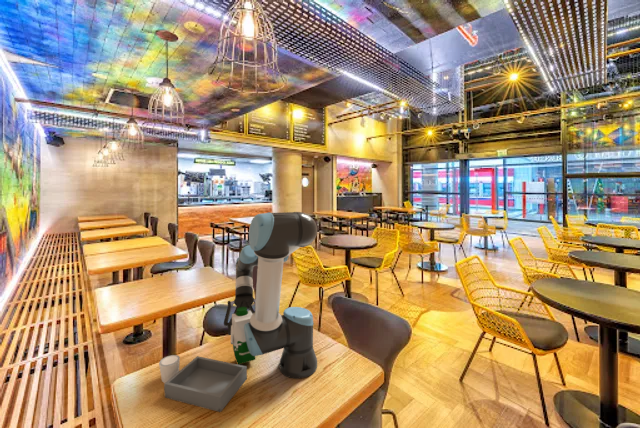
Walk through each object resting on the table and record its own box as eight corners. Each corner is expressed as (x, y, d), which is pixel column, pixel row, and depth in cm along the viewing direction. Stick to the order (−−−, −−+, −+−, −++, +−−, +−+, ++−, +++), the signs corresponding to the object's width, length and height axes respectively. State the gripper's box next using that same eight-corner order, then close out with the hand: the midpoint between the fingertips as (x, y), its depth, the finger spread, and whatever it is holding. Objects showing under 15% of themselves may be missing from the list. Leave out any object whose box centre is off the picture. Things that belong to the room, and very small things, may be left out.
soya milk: (252, 349, 118) (251, 304, 116) (258, 360, 110) (256, 313, 108) (231, 354, 114) (229, 308, 112) (235, 367, 106) (233, 318, 104)
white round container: (157, 385, 99) (156, 367, 98) (162, 373, 105) (161, 356, 105) (178, 382, 101) (177, 364, 100) (182, 370, 107) (181, 353, 107)
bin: (246, 378, 103) (246, 366, 102) (220, 412, 87) (220, 397, 87) (197, 368, 109) (197, 356, 108) (164, 397, 93) (164, 383, 93)
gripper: (268, 290, 128) (270, 341, 114) (219, 294, 123) (216, 348, 109) (268, 282, 122) (271, 335, 108) (218, 286, 117) (214, 342, 103)
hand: (244, 341), depth 108 cm, fingers closed on soya milk, 9 cm apart
